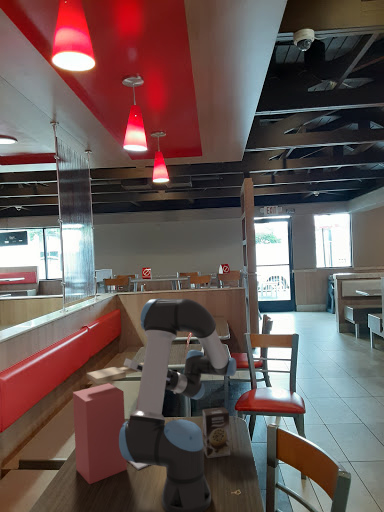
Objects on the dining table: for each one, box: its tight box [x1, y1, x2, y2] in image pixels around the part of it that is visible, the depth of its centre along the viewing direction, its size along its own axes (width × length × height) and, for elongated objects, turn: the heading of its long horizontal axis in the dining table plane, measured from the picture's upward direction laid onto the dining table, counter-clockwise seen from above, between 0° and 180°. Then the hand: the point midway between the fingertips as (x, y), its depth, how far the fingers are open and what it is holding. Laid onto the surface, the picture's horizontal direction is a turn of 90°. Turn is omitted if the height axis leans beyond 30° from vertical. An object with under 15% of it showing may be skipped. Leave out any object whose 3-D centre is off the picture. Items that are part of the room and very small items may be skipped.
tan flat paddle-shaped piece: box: [86, 361, 144, 386], centre depth 148 cm, size 23×9×2 cm, turn 127°
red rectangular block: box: [72, 382, 128, 485], centre depth 143 cm, size 14×12×28 cm
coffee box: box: [202, 406, 231, 459], centre depth 151 cm, size 9×6×16 cm
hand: (127, 362), depth 150 cm, fingers closed on tan flat paddle-shaped piece, 3 cm apart
